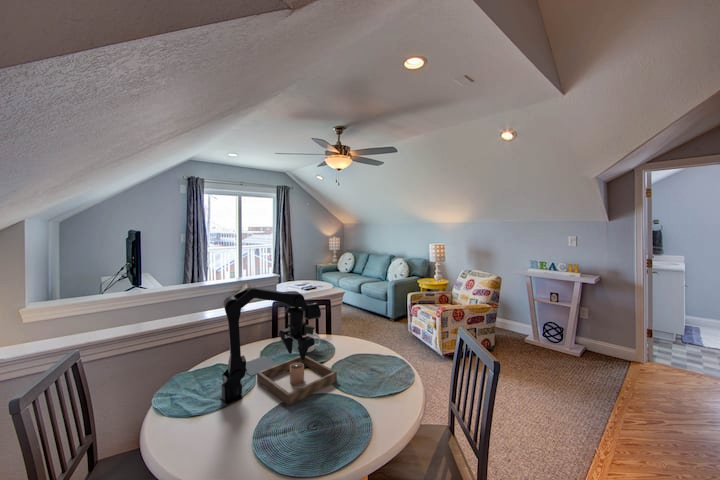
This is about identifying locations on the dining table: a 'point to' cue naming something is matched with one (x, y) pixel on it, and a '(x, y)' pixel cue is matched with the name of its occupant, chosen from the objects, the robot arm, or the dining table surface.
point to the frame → (299, 393)
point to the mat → (258, 365)
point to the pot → (296, 373)
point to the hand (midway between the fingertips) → (296, 356)
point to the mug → (313, 338)
